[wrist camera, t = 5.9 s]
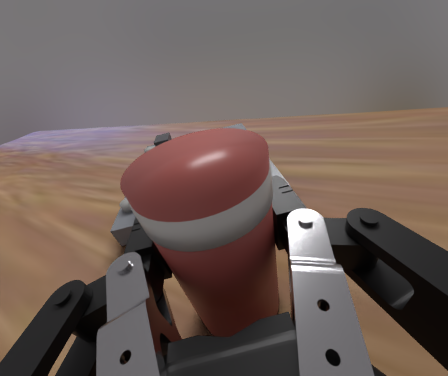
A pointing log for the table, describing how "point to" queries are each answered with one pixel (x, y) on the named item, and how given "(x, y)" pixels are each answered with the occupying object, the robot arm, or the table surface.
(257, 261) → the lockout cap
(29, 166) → the table surface
